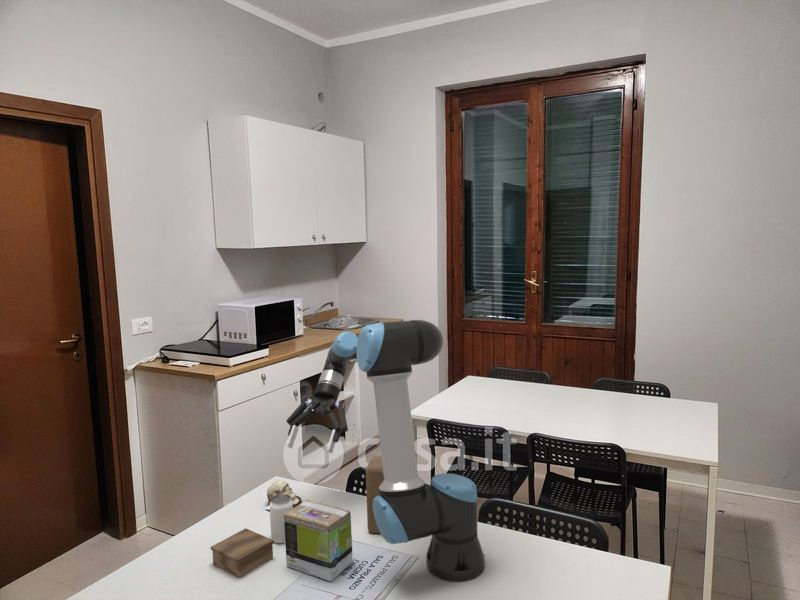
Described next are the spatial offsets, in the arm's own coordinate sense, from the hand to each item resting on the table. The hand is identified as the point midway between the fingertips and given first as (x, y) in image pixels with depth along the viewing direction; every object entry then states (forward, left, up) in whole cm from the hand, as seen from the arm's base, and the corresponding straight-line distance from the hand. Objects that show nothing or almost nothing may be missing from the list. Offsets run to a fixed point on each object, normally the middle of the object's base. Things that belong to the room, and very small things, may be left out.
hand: (309, 449), depth 172 cm
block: (-22, -9, -23) cm, 33 cm away
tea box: (-19, +17, -23) cm, 34 cm away
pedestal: (-1, +27, -22) cm, 35 cm away
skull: (+16, -2, -23) cm, 28 cm away
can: (-1, +13, -23) cm, 26 cm away
